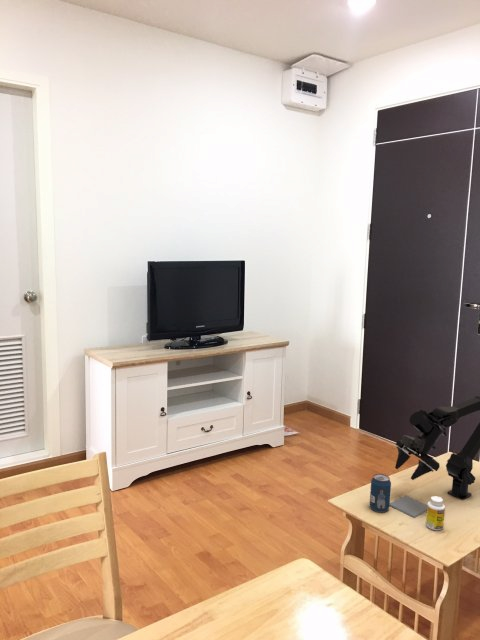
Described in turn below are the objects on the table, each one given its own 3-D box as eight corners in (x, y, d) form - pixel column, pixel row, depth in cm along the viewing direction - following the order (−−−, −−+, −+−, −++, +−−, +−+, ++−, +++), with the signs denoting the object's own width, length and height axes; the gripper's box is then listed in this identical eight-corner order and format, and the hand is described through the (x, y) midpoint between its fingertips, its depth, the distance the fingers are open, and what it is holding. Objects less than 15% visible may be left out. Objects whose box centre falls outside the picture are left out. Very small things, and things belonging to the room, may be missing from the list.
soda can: (380, 502, 197) (382, 471, 195) (393, 511, 191) (395, 479, 189) (365, 505, 194) (367, 474, 192) (377, 514, 188) (380, 483, 186)
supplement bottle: (436, 533, 177) (438, 504, 176) (422, 525, 182) (424, 497, 180) (446, 528, 180) (449, 500, 179) (432, 520, 185) (435, 493, 183)
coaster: (405, 496, 202) (405, 495, 202) (431, 508, 193) (431, 506, 193) (387, 505, 195) (388, 503, 195) (414, 517, 187) (414, 516, 186)
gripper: (398, 419, 200) (374, 453, 199) (432, 436, 183) (406, 473, 181) (416, 434, 204) (393, 467, 203) (451, 452, 187) (425, 489, 185)
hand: (403, 473), depth 193 cm, fingers open, 9 cm apart
